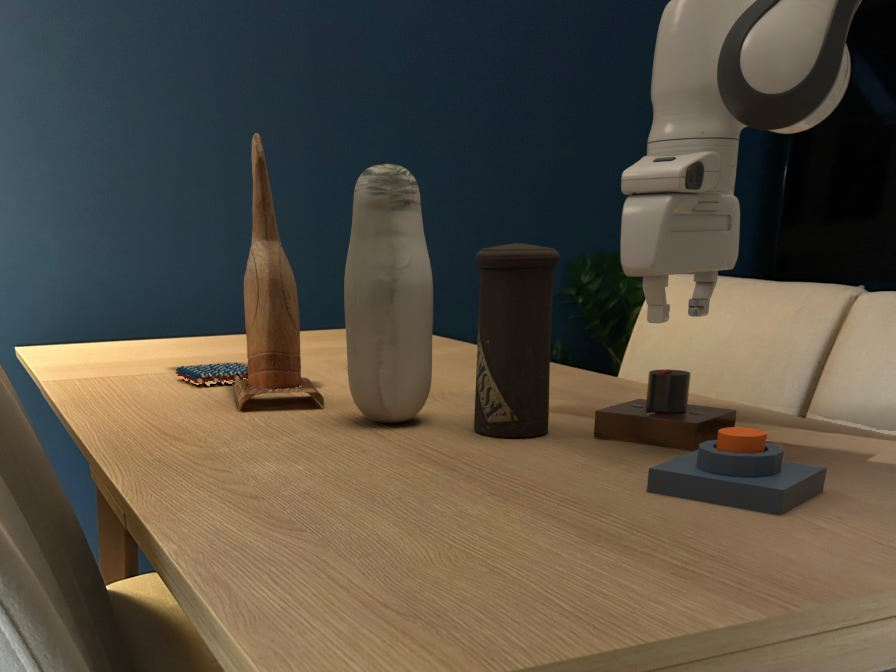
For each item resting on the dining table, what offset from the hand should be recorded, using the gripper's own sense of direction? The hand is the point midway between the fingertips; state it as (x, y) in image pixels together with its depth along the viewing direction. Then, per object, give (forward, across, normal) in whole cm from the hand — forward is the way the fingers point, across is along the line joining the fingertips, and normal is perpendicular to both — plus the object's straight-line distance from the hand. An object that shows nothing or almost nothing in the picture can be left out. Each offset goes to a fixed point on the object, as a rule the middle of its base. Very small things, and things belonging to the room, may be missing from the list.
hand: (678, 319), depth 103 cm
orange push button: (+9, +18, +15) cm, 25 cm away
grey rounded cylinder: (+12, +12, -31) cm, 35 cm away
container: (+12, +8, -16) cm, 22 cm away
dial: (+9, 0, -1) cm, 9 cm away
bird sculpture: (+12, +12, -51) cm, 53 cm away
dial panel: (+12, 0, -1) cm, 13 cm away
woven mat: (+11, +4, -73) cm, 74 cm away
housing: (+13, +18, +15) cm, 27 cm away
